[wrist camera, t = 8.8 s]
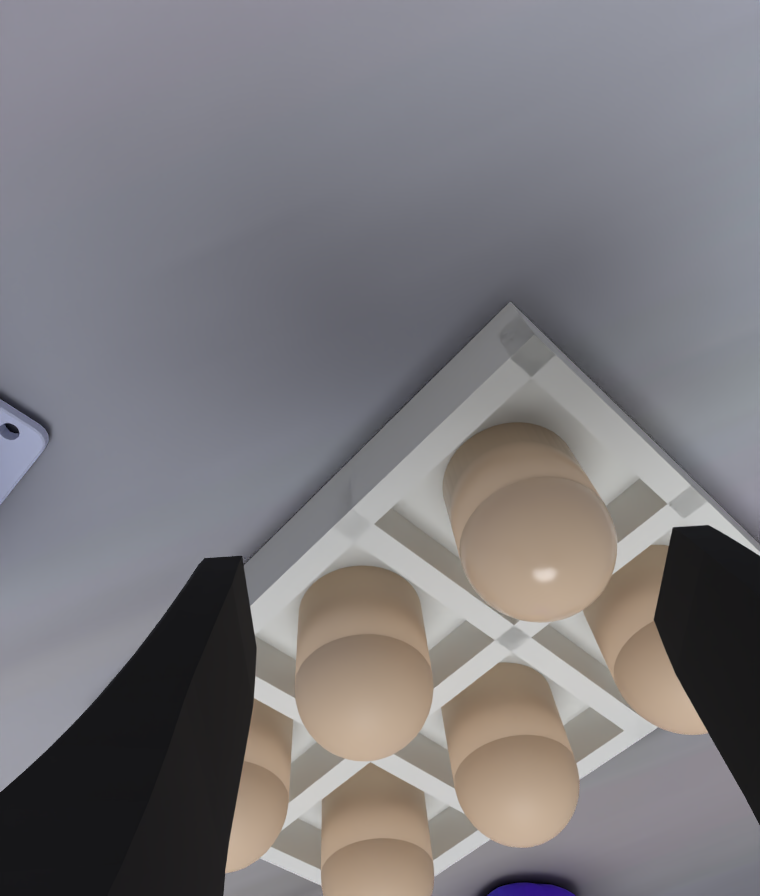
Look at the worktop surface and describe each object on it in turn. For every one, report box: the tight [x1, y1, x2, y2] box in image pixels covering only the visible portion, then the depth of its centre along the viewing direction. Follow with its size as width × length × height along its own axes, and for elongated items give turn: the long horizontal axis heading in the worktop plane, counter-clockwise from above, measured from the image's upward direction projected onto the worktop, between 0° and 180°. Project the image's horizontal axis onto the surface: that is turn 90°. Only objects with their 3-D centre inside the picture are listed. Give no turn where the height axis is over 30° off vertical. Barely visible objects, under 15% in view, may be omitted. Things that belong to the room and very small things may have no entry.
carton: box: [225, 302, 760, 896], centre depth 22 cm, size 14×21×6 cm
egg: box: [442, 422, 617, 623], centre depth 19 cm, size 4×4×5 cm
